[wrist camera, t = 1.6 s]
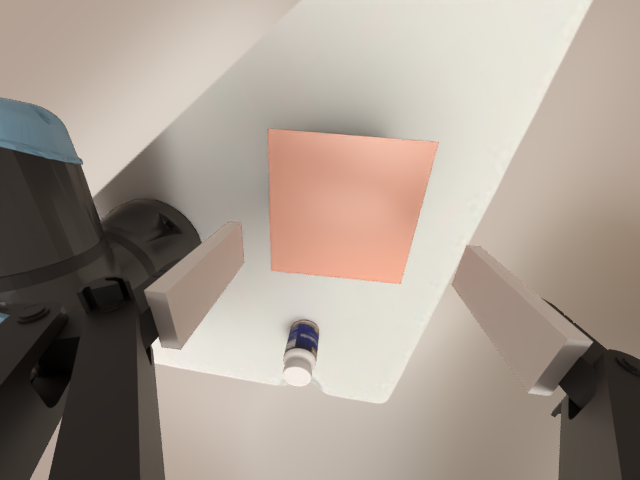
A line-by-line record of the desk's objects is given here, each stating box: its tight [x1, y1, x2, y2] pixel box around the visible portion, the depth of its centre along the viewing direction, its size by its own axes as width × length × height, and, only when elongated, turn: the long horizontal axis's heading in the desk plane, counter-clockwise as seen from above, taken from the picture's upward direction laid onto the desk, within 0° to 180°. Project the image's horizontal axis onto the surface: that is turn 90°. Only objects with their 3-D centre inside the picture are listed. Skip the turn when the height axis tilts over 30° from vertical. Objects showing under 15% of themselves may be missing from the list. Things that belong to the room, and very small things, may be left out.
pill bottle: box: [283, 320, 319, 386], centre depth 42 cm, size 6×6×10 cm
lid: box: [268, 129, 439, 284], centre depth 21 cm, size 13×13×2 cm
